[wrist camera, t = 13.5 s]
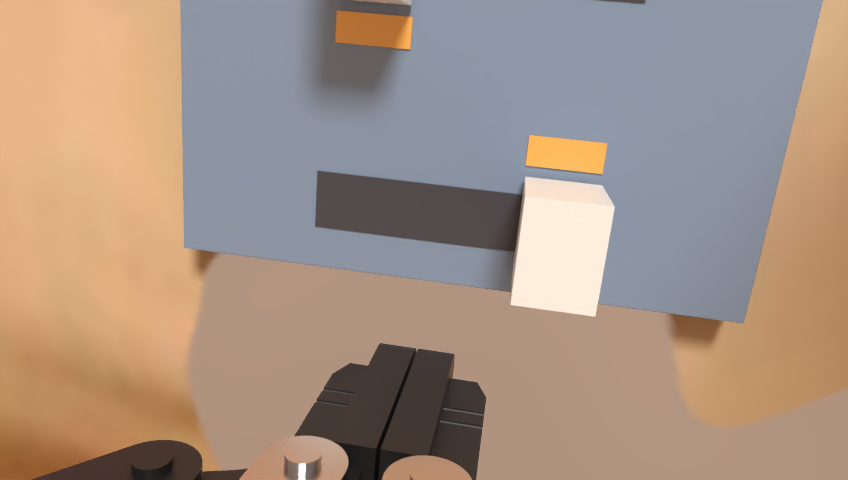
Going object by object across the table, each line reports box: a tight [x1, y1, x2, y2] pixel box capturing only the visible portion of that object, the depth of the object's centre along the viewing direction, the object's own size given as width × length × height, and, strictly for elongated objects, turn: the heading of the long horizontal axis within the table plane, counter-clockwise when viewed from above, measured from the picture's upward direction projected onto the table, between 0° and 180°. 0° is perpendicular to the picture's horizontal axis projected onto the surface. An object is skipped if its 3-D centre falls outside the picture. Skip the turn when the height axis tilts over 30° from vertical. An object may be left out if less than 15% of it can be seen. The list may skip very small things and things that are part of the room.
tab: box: [510, 177, 615, 317], centre depth 25 cm, size 3×4×4 cm
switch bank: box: [180, 0, 823, 323], centre depth 27 cm, size 24×16×2 cm, turn 85°
